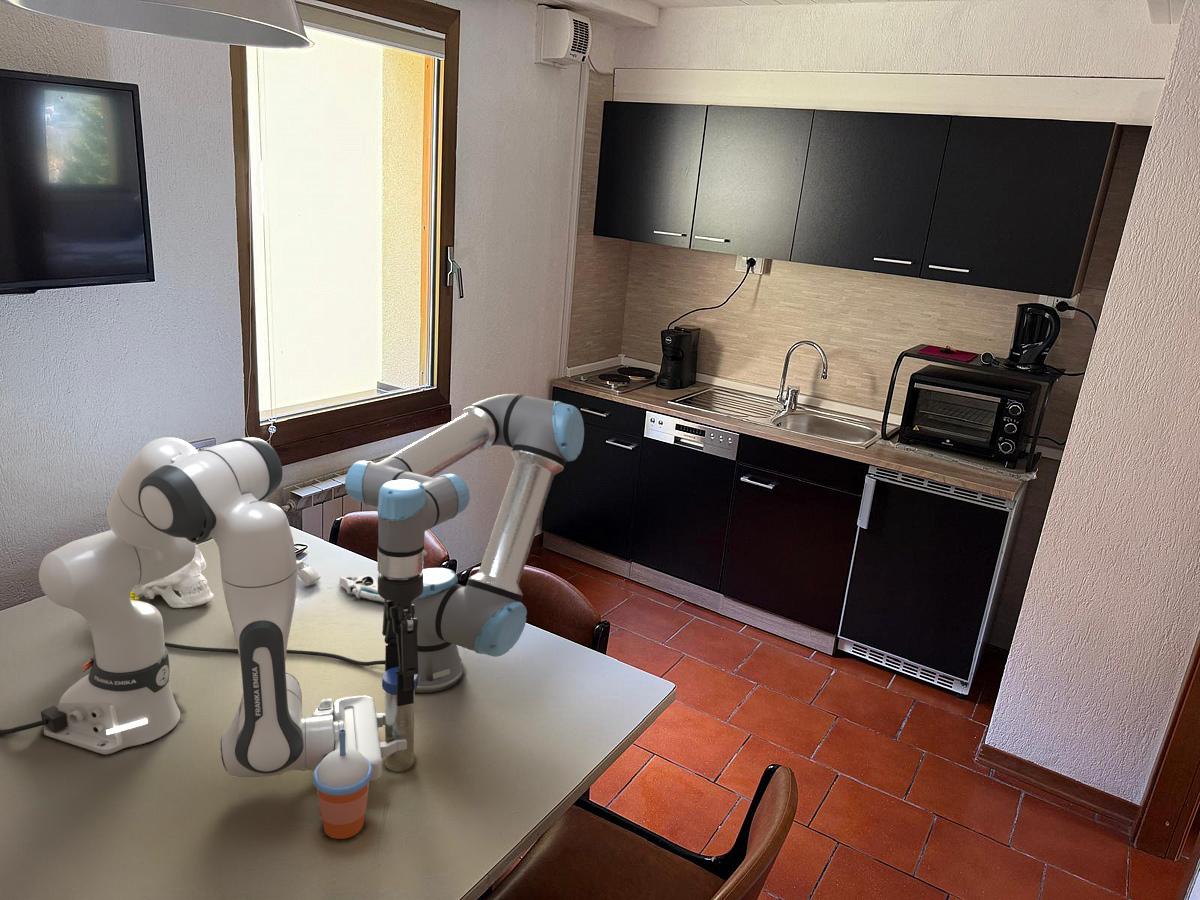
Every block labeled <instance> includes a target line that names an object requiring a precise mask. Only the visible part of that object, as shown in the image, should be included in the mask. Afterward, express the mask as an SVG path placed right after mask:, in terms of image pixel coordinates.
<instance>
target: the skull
mask: <svg viewBox="0 0 1200 900" xmlns="http://www.w3.org/2000/svg"><path fill="white" fill-rule="evenodd" d="M204 570H207V563H206V560H205V557H204V556H203V553H202V552H201V550H200V548H199V546H198V545H197V544H196V551H195V555H194V558H193V560H192V561H191V562H190V563H189V564H187V565H186V566H184V567H183V568H181V569H179V570H178V571H176V572H174V573H172V574H171V575H169V576H167V577H164V578H161V579H158V580H156V581H153V582H150V583H147V584H145V585H142V586H139V587H137V588H138V590H139V591H140V592H141V594H142V595H145V597H149V600H153V599H154V598H155V596H161V597H162V599H163V600H164V601H165V602H166V603H167V604H168V606H169V607H171V608H174V609H183V608H185V609H186V608H193V607H196V605H197V606H199V605H203V604H207V603H208V602H211V601H212V600H213V599H214V593H213V592H212V591H211V589H210V586H209V585H208V583H209V582H208V580H207V579H206V577H205V576H204V574H202V572H203V571H204ZM172 588H173V589H172ZM175 591H176V592H178V593H179V595H180V596H179V595H177V594H176V592H175ZM169 604H172V605H169ZM178 605H192V606H178ZM194 605H195V606H194Z"/></svg>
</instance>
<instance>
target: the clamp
mask: <svg viewBox="0 0 1200 900" xmlns="http://www.w3.org/2000/svg"><path fill="white" fill-rule="evenodd" d="M296 562H297V577H298V578H299V579H300V580H301V582H303V584H304V585H305V587H309V586H312V585H314V584H316V583H318V582H319V580H320V579H321V578H322V577H321V575H320V574H319V573H318V572H317V570H315V569H314V568H313V566H312V565H310V564H309V565H308V564H307V563H305V562H304V561H303V560H301V559H300V560H299V559H296ZM305 566H306V567H305Z"/></svg>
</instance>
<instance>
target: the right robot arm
mask: <svg viewBox="0 0 1200 900" xmlns="http://www.w3.org/2000/svg"><path fill="white" fill-rule="evenodd" d="M584 439H585V426H584V419H583V415H582V413H581V411H580V410H579V409H578V408H577V407H576V406H574V405H572V404H569V403H564V402H562V401H559V400H551V399H545V398H541V397H535V396H529V395H524V394H520V393H505V394H499V395H495V396H494V395H493V396H491V397H487V398H485V399H482V400H479V401H477V402H475V403H472V404H471V405H469V406H467V407H465V408H464V409H462V410H461V411H460V412H459V414H458V416H457V418H455V419H453V420H452V421H450V422H447V424H444V425H443V426H441V427H439V428H438V429H436V430H434V431H432V432H431V433H428V434H427V435H425V436H423V437H422V438H420V439H418V440H416V441H414V442H413V443H411V444H409V445H407V446H405V447H403V448H402V449H400V450H399V451H397V452H395V453H393V454H391V455H389V456H387V457H386V458H384V459H382V460H381V461H378V462H374V461H373V460H368V461H367V460H358V461H356V462H354V463H353V464H352V465H351V466H350V467H349V469H348V470H347V473H346V475H345V480H344V485H345V491H346V494H347V496H348V497H349V498H350V499H352V500H354V501H357V502H359V503H363V504H364V505H365V506H373V507H376V511H377V522H378V523H377V525H378V543H377V572H378V573H377V584H378V594H379V595H380V596H381V597H382V598H384V602H383V617H382V632H381V633H382V636H383V637H384V644H385V650H384V652H385V657H384V659H380V660H371V661H363V660H362V661H360V660H355V659H351V658H349V657H346V656H343V655H340V654H336V653H330V652H329V653H328V652H321V651H313V650H298V649H287V650H286V655H301V656H303V655H304V656H314V657H315V656H317V657H322V658H323V657H325V658H330V659H336V660H339V661H343V662H344V663H348V664H352V665H356V666H362V667H369V666H381V665H384V673H385V672H386V671H387V670H389V669H391V668H394V667H399V670H397V671H395V675H397V706H402V705H408V704H413V703H414V675H415V674H417V675H418V686H417V688H416V689H415V694H430V693H431V694H432V693H438V692H441V691H445V690H447V689H450V688H451V687H453V686H455V685H456V684H457V683H458V682H459V681H460V680H461V679H462V676H463V672H464V664H463V660H462V657H461V656H460V653H459V649H458V646H459V647H461V648H464V649H466V650H471V651H473V652H475V653H476V654H479V655H486V656H490V657H493V658H496V657H502V656H503V655H506V654H507V653H509V652H510V651H511V649H513V648H514V646H515V645H516V644H517V643H518V642H519V639H520V638H521V637H522V634H523V631H524V629H525V627H526V623H527V615H528V611H527V607H526V606H525V605H524V603H523V602H522V600H523V596H524V594H523V592H522V589H521V587H520V582H521V578H522V575H523V573H524V569H525V566H526V563H527V560H528V557H529V554H530V550H531V548H532V544H533V542H534V539H535V536H536V532H537V529H538V527H539V524H540V521H541V517H542V514H543V512H544V508H545V505H546V502H547V499H548V496H549V493H550V491H551V487H552V484H553V480H554V477H555V476H556V475H558V474H559V473H561V472H563V471H564V469H565V468H566V463H567V462H573V461H576V460H577V459H578V456H580V454H581V453H582V450H583V446H584V445H583V444H584ZM493 446H503V447H509V448H512V450H511V453H510V454H511V455H512V458H513V460H514V466H513V469H512V472H511V475H510V477H509V481H508V484H507V487H506V489H505V493H504V496H503V499H502V502H501V504H500V507H499V510H498V513H497V517H496V519H495V522H494V525H493V528H492V531H491V534H490V536H489V540H488V542H487V546H486V548H485V551H484V554H483V558H482V561H481V564H480V567H479V569H478V571H477V572H476V573H474V574H473V575H471V576H469V577H468V579H467V581H466V585H462V584H458V582H459V581H458V580H459V579H458V576H457V574H456V572H455V571H454V570H452V569H450V568H445V567H429V568H424V557H426V556H427V555H428V552H427V550H425V535H426V532H427V531H428V530H431V529H433V528H434V527H436V526H438V525H440V524H443V523H445V522H447V521H449V520H452V519H454V518H456V517H457V516H458V515H459V514H461V513H462V512H464V511H465V510H466V509H467V508H468V505H469V504H470V490H469V489H470V488H469V486H468V485H467V483H466V482H465V480H464V479H463V478H462V477H461V476H459V475H457V474H454V473H447V474H441V475H438V474H440V473H442V471H444V470H446V469H447V468H449V467H451V466H453V465H455V463H458V462H459V461H461V460H462V459H464V458H465V457H467V456H468V455H470V454H472V453H473V452H475V451H476V450H477V451H483V450H486V449H489V448H490V447H493ZM436 475H438V476H437V477H435V476H436ZM164 643H165V647H166V648H172V649H178V650H184V651H185V650H186V651H195V652H196V651H197V652H207V653H228V654H229V653H230V654H231V653H233V654H234V653H235V654H239V652H238V648H226V647H225V648H223V647H203V646H194V645H183V644H178V643H172V642H166V641H164Z"/></svg>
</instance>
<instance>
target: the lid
mask: <svg viewBox="0 0 1200 900" xmlns="http://www.w3.org/2000/svg"><path fill="white" fill-rule="evenodd" d="M397 670H399V667H394V668H391V669H389V670H387V671H386V672H385V671H384V672H383V674H382V676H381V677H382V679H381V687H382V690H383V692H384V693H385V692H387V693H389V694H392V695H397V675H395V671H397ZM417 686H418V675H417V674H415V675H414V690H415V689H416V688H417Z"/></svg>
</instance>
